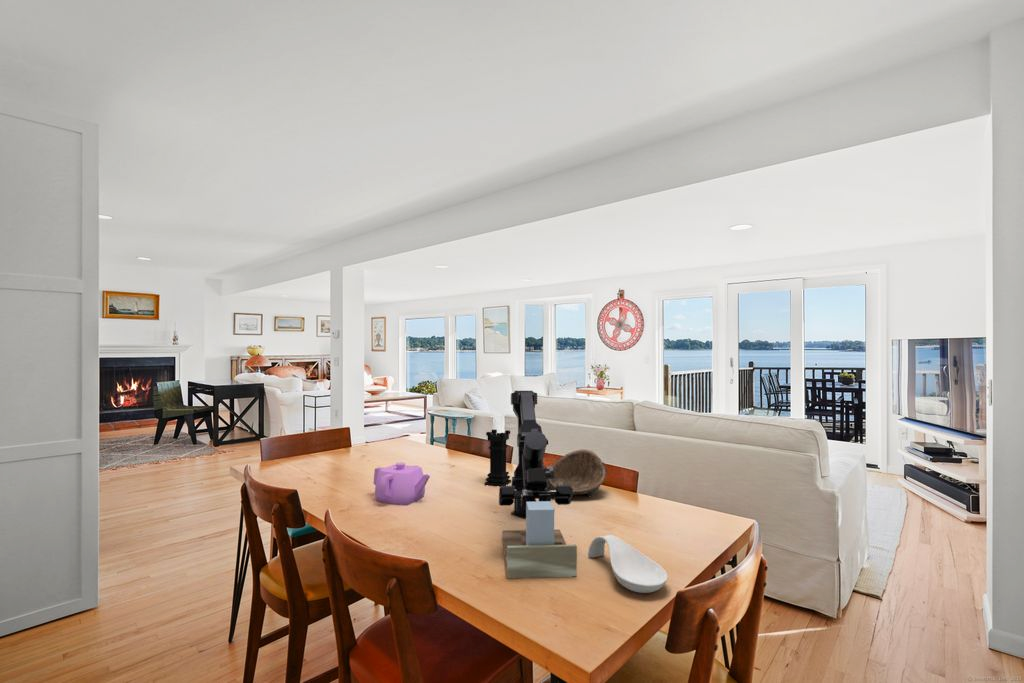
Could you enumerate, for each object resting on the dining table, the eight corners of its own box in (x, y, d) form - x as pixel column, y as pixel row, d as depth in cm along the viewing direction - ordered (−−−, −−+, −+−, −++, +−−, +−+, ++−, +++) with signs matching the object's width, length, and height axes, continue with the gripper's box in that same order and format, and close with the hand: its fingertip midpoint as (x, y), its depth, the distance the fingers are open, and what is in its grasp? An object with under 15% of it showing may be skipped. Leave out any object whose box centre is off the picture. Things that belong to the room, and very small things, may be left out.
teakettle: (371, 494, 177) (371, 460, 177) (418, 489, 184) (419, 456, 184) (379, 509, 161) (379, 471, 161) (430, 503, 168) (431, 466, 168)
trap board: (502, 537, 138) (502, 512, 138) (559, 536, 139) (559, 511, 139) (507, 578, 114) (507, 547, 114) (576, 576, 115) (576, 546, 115)
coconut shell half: (552, 505, 167) (618, 479, 173) (534, 465, 176) (597, 441, 182) (549, 520, 179) (611, 496, 185) (532, 481, 188) (592, 459, 194)
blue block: (525, 554, 122) (526, 501, 122) (550, 554, 123) (550, 501, 122) (528, 565, 116) (528, 510, 116) (553, 565, 117) (554, 509, 116)
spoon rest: (679, 594, 108) (679, 561, 108) (635, 606, 103) (635, 571, 103) (613, 552, 129) (613, 524, 129) (574, 560, 124) (574, 531, 124)
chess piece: (511, 481, 195) (511, 430, 195) (504, 487, 187) (504, 433, 187) (492, 479, 197) (492, 429, 197) (484, 485, 190) (484, 432, 190)
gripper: (499, 454, 128) (501, 512, 117) (571, 453, 129) (580, 511, 118) (498, 477, 135) (499, 533, 124) (566, 476, 137) (573, 531, 126)
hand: (538, 527), depth 123 cm, fingers closed
